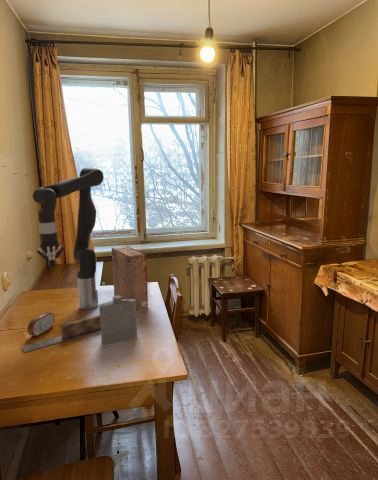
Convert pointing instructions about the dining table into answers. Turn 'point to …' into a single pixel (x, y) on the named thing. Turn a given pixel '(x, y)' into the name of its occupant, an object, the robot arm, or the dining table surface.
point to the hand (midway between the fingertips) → (52, 267)
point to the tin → (41, 323)
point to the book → (130, 275)
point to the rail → (54, 341)
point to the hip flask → (118, 320)
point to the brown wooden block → (80, 326)
